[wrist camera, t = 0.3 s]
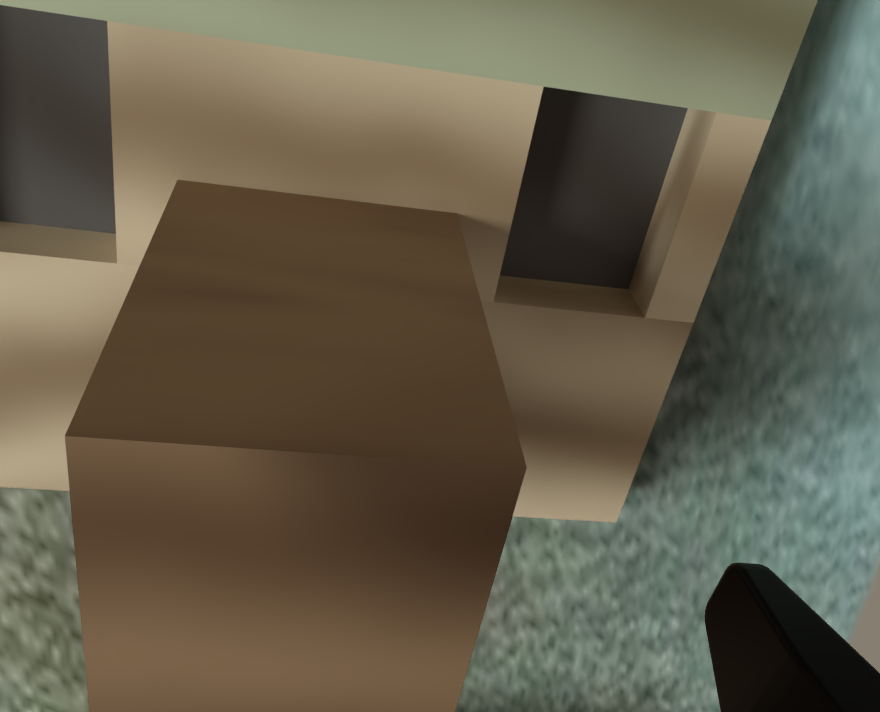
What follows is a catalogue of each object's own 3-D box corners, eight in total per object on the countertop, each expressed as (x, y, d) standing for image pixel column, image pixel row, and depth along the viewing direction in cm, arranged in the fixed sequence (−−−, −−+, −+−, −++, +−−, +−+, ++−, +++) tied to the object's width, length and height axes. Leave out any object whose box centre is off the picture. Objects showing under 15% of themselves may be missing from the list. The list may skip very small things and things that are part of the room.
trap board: (601, 483, 30) (628, 555, 27) (-59, 439, 26) (-108, 518, 24) (831, -157, 20) (916, -151, 17) (-215, -383, 16) (-341, -425, 13)
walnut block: (415, 425, 25) (450, 727, 17) (177, 407, 24) (90, 722, 16) (456, 213, 22) (526, 467, 13) (177, 179, 20) (65, 436, 12)
